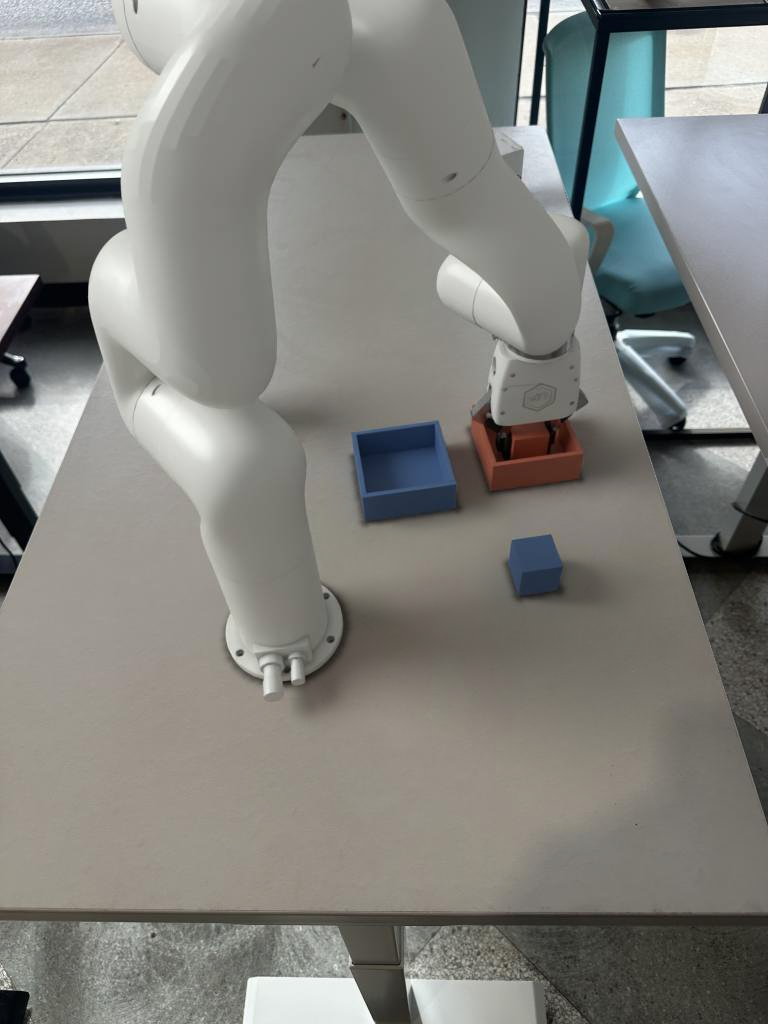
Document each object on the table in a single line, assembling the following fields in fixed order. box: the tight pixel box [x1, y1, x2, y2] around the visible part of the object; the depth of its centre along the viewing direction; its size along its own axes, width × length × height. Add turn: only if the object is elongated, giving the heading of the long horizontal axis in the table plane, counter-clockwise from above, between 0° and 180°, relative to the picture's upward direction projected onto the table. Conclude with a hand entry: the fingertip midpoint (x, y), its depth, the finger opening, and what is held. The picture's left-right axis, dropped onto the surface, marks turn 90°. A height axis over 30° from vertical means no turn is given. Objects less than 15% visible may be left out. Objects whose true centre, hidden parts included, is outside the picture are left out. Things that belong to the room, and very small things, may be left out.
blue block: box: [507, 533, 564, 597], centre depth 80 cm, size 4×4×4 cm
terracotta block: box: [509, 421, 550, 461], centre depth 92 cm, size 4×4×4 cm
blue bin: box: [351, 420, 458, 523], centre depth 90 cm, size 11×11×4 cm
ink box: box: [493, 131, 525, 180], centre depth 131 cm, size 8×5×12 cm, turn 25°
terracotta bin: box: [470, 404, 585, 492], centre depth 93 cm, size 11×11×4 cm
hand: (523, 448), depth 94 cm, fingers closed on terracotta block, 4 cm apart
